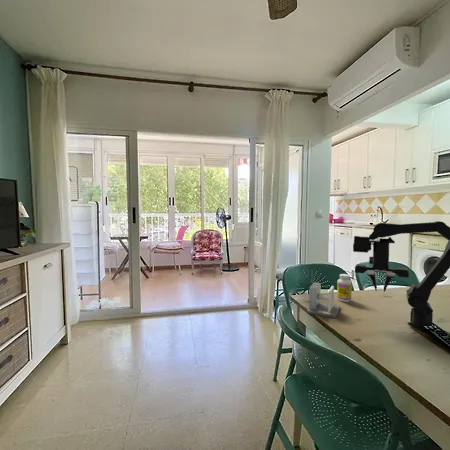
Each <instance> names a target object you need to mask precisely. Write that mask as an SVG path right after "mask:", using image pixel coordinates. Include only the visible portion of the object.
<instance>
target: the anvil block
mask: <svg viewBox="0 0 450 450" xmlns="http://www.w3.org/2000/svg"><path fill="white" fill-rule="evenodd" d="M321 284H322V283H321V282H313V283H312V284H311V285H310V286H309V291H308V293H309V297H308V299H309V307H308V309H309V310H315V311H316V310H317V309H318V307H319V305H320V302H321V300H322V299H318V294H320V295H322V294H321V292H322V291H321V288H322V287H321V286H322V285H321Z"/></svg>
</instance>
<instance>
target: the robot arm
mask: <svg viewBox="0 0 450 450" xmlns="http://www.w3.org/2000/svg"><path fill="white" fill-rule="evenodd" d="M421 233H422V234H423V233H437V234H438V235H440V236H442V237H443V238H444V239H446V240H447V243H446V245H445V247H444V250H443V253H442V255H440V257H439V258H438V259H437V261H436V262H435V263H434V265H433V266H432V267H431V269H430V270H429V271H428V272H427V273H426V274H425V276H424V277H423V279H422V280H421V281H420V282H419V283H418V284H414V283H411V285H410V287H409V288H408V289H407V290H406V294H405V297H406V300H407V303H408V305H409V306H410V307H411V311H410V321H408V322H407V324H408V325H410V326H412V327H414V328H416V329H418V330H420V331H425V330H424V329H423V328H422V326H433V315H434V314H433V312H434V309H433V308H432V306H431V304H430V303H429V302H428V301H429V299H430V297H431V293H432V291H433V289H434V287H436V286H437V285H438V283H439V282H440V281H441V279H442V278H443V277H444V276H445V274H446V273H447V272H448V271H449V270H450V226H449V225H447V224H446V223H445V222H443V221H439V220H438V221H436V220H435V221H433V222H416V223H389V222H379V223H376V224H375V225H374V226H373V231H372V233H370V234H369V236H359V235H354V237H353V245H352V250H353V253H366V254H367V253H368V254H369V252H370V251H372V256H369V259H368V260H369V261H368V264H369V265H372V267H371V266H367V264H364V263H363V264H362V263H356V264H355V265H354V266H355V267H354V273H355V274H357V273H358V274H364V273H366V276H368V277H369V278H370V280H371V282H372V284H373V287H374V290H375V291H377V290H378V288H377V287H378V286H377V279H376V273H380V274H385V278H384V279H385V280H384V283H383V292H386V289H387V288H388V286H389V284H390V282H391V281H392V279H396V276H398V278H409V276H410V274H409V273H410V272H409V270H408V269H407V267H396V268H390V244H396V242H395V240H394V239H393V238H392V236H396V235H402V234H403V235H404V234H421ZM386 237H387V238H386ZM378 238H379V240H377V239H378Z"/></svg>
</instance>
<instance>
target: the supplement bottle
mask: <svg viewBox="0 0 450 450" xmlns="http://www.w3.org/2000/svg"><path fill="white" fill-rule="evenodd" d="M350 278H351V276H350V274H347V273H340V274H339V279H337V282H336V283H337V284H336V286H337V287H336V289H337V291H336V300H338V301H340V302H346V303H347V302H348V303H349V302H351V301H352V292H353V291H352V289H353V288H352V286H353V285H352V281H351V280H350Z"/></svg>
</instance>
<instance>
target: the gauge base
mask: <svg viewBox="0 0 450 450" xmlns="http://www.w3.org/2000/svg"><path fill="white" fill-rule="evenodd" d="M340 309H341V305H339V304H334V306H333V308H332V310H331V312H330V313H328V302H327V303H325V302H321V301H320V305H319V307H318V309H317V310H316V311H315V310H309V308H307V310H306V313H307V314H310V315H311V314H312V315H316V316H323V317H328V318H333V319H337V316H338V314H339V311H340Z"/></svg>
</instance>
